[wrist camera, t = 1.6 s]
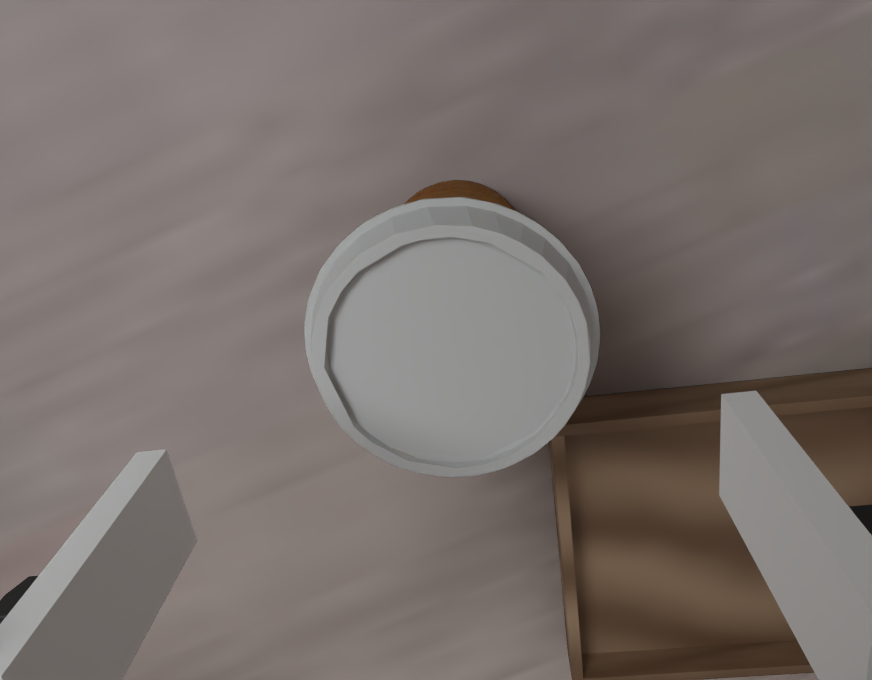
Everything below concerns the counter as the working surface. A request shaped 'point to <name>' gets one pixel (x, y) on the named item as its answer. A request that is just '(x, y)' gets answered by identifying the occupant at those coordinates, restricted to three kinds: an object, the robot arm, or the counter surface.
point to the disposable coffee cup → (452, 333)
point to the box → (685, 527)
